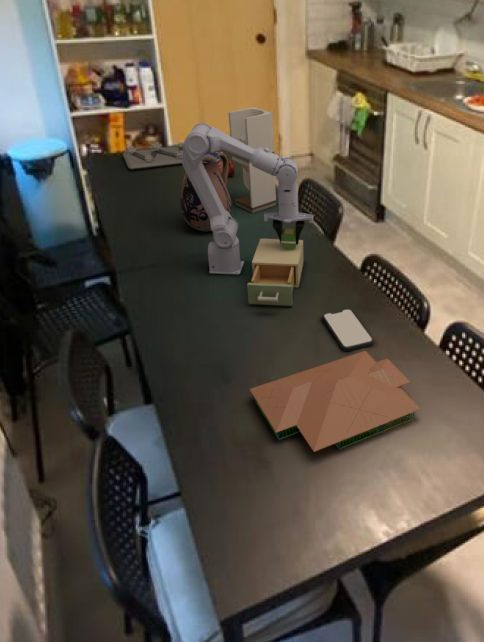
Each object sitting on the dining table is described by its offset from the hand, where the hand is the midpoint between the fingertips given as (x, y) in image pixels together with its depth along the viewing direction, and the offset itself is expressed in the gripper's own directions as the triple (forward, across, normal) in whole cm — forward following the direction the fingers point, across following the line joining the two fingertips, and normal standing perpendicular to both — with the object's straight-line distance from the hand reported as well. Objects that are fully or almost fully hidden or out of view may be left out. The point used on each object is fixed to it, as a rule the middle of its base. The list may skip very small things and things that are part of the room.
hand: (289, 242), depth 172 cm
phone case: (+10, +19, -32) cm, 38 cm away
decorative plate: (+10, -71, +95) cm, 119 cm away
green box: (0, 0, 0) cm, 0 cm away
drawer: (+8, -3, -17) cm, 19 cm away
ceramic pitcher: (+10, -32, +30) cm, 45 cm away
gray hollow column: (+10, -19, +49) cm, 53 cm away
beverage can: (+10, -39, +77) cm, 87 cm away
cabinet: (+9, -3, -3) cm, 10 cm away
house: (+10, +18, -61) cm, 64 cm away
